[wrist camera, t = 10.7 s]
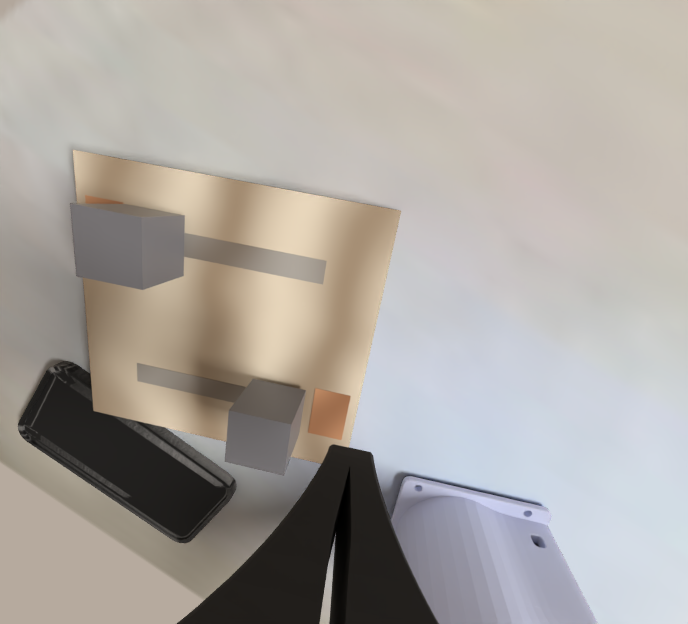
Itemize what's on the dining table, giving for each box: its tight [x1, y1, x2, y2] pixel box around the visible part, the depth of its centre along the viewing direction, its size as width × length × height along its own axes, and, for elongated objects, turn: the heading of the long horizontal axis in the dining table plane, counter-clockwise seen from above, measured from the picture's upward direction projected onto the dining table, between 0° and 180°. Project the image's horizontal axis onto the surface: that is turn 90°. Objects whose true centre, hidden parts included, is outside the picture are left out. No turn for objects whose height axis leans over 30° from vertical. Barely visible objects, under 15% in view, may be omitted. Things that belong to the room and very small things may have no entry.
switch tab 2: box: [225, 379, 306, 475], centre depth 17 cm, size 3×3×3 cm
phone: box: [18, 361, 236, 543], centre depth 24 cm, size 8×1×15 cm
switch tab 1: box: [70, 203, 185, 290], centre depth 15 cm, size 3×3×3 cm
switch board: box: [73, 150, 401, 464], centre depth 19 cm, size 16×15×2 cm
